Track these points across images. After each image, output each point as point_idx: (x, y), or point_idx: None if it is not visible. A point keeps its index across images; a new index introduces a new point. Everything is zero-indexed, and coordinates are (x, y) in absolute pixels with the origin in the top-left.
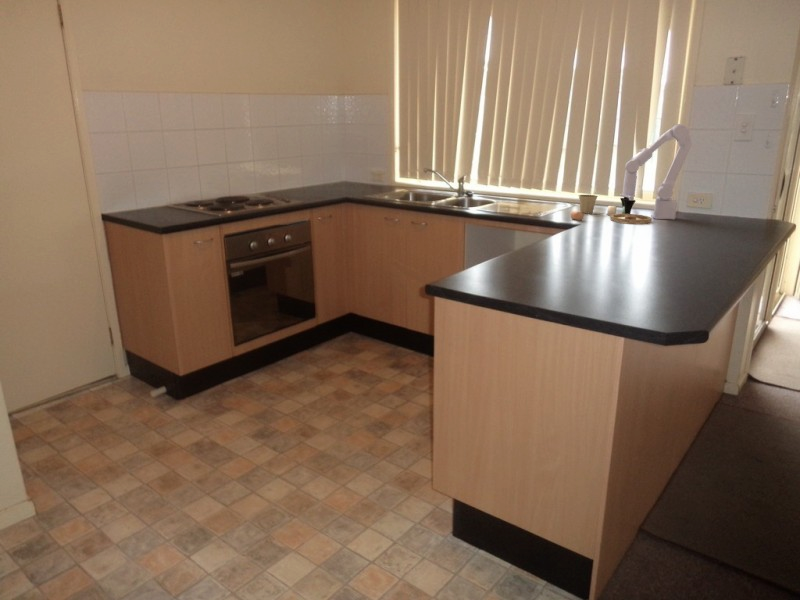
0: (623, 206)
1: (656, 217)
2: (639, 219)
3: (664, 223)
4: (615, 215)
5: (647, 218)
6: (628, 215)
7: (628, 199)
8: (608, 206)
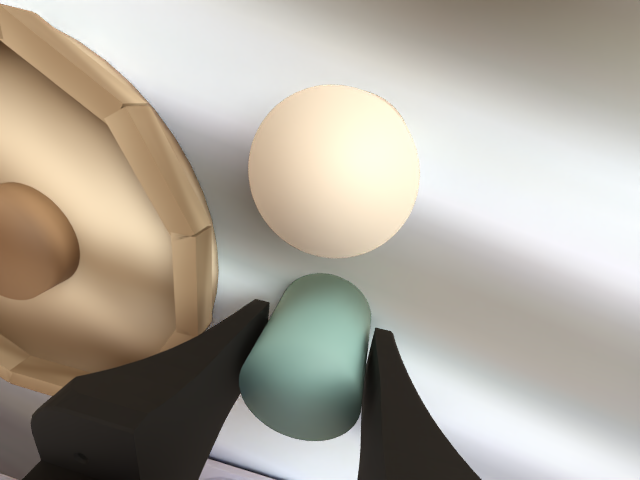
0: (352, 376)
1: (201, 474)
2: (61, 314)
3: (29, 411)
4: (121, 128)
5: (70, 376)
6: (22, 241)
7: (27, 474)
8: (335, 91)
